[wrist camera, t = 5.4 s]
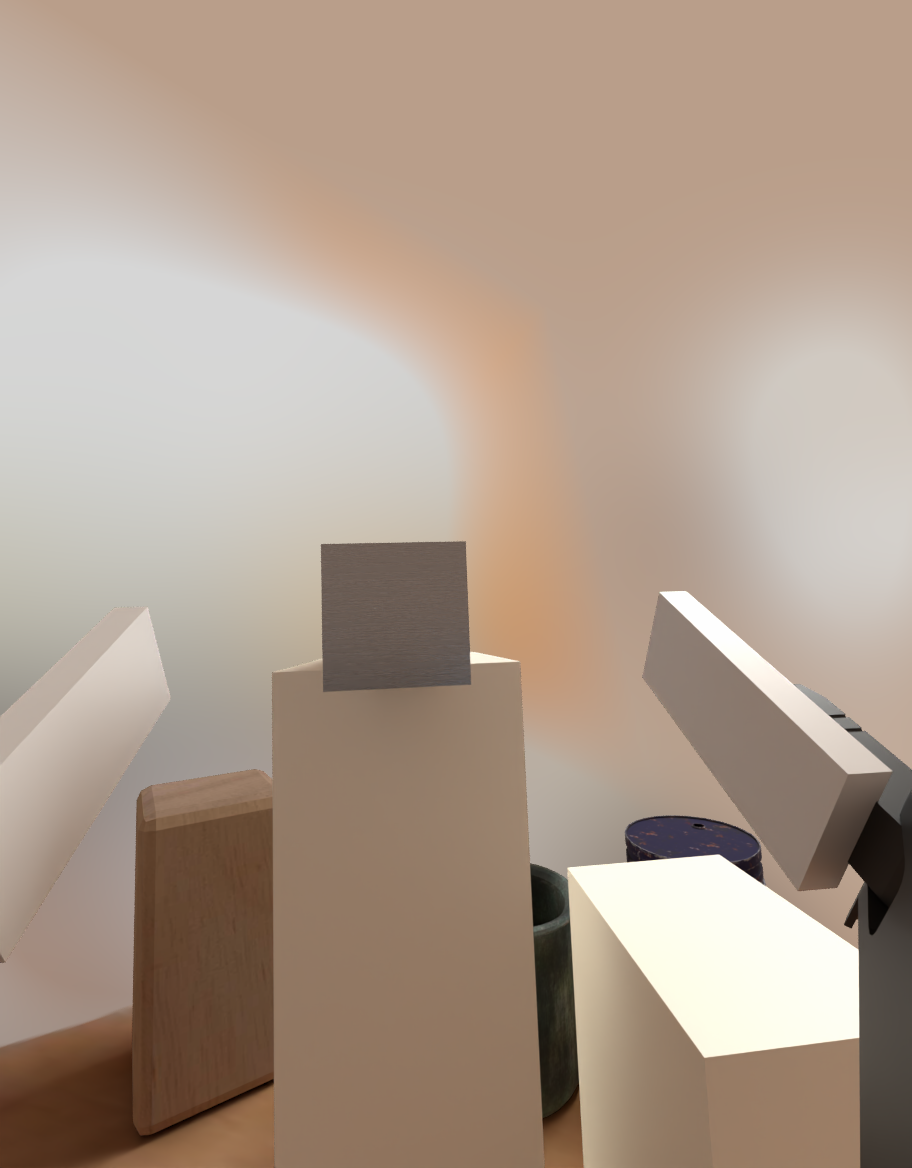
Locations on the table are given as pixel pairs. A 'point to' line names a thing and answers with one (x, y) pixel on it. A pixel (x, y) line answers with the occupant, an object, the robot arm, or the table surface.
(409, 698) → the stand
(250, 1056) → the block
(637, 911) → the step
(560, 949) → the mug
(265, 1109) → the table surface
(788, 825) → the robot arm
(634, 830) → the dark purple barrel
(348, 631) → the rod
